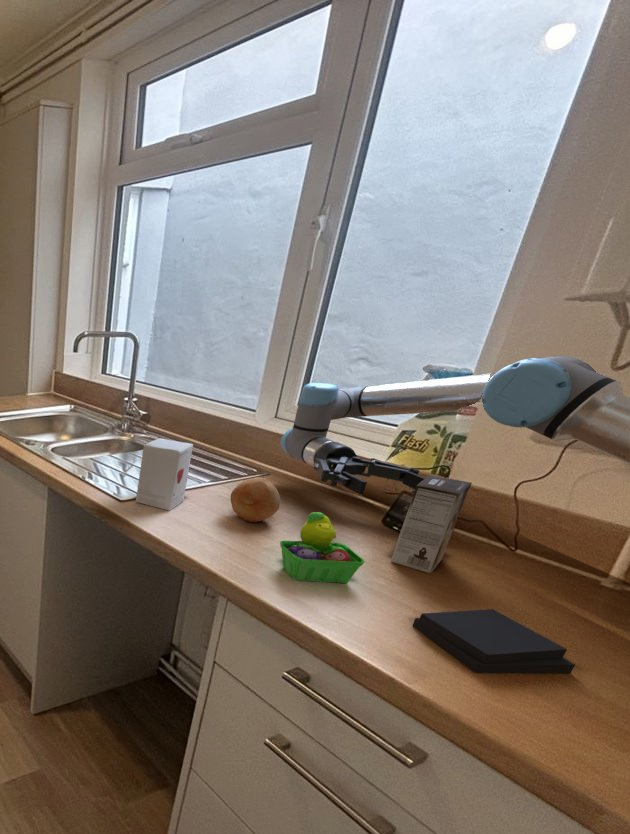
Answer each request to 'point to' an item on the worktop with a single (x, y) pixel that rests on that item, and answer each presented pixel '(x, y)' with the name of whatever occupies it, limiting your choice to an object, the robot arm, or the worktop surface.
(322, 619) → the worktop surface
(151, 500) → the rectangular carton
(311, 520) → the fruit basket
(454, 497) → the coffee box
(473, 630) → the black game console
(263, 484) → the onion
